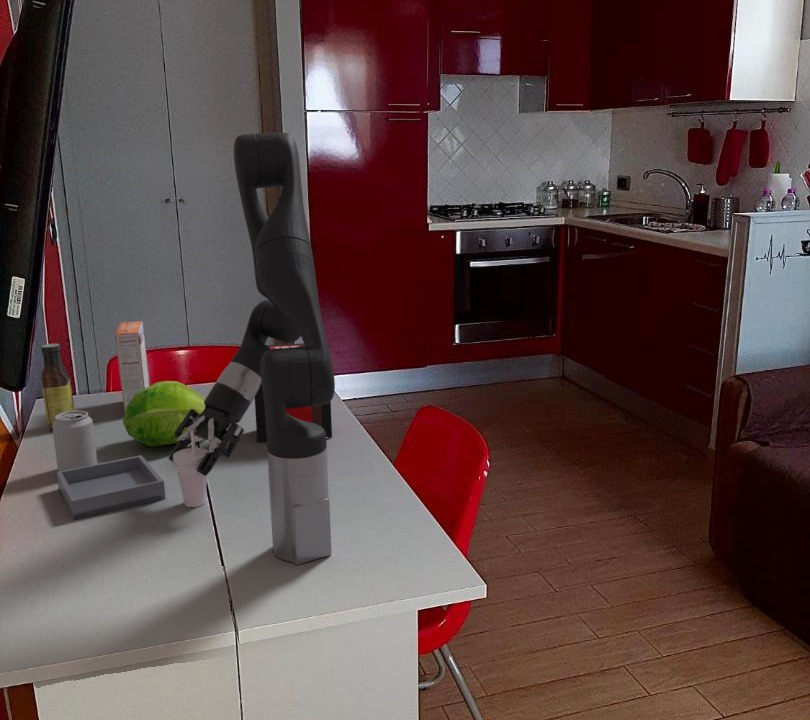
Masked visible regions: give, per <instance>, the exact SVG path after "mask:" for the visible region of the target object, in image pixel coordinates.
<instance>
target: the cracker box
mask: <svg viewBox="0 0 810 720" xmlns="http://www.w3.org/2000/svg"><path fill="white" fill-rule="evenodd" d="M114 337H115V344H116V353H117V354H116V355H117V361H118V368H119V369H118V370H119V378H120V387H121V395H122V397H121V398H122V403H123V410H124V411H123V412H124V413H123V414H125V411H126V407H127V405H128V404H129V402H130V401H131V400H132V398H133V397H134V396H135V394H136V393H137V392H139V391H141V390H143V389H145V388H147V387H149V386H151V385H150V378H149V369H148V368H149V367H148V358H147V350H146V340H145V331H144V322H143V321H140V320H139V321H126V322H125V321H123V322H121V323H119V325H118V327H117V329H116V333H115V334H114Z"/></svg>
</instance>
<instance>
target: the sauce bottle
mask: <svg viewBox="0 0 810 720" xmlns="http://www.w3.org/2000/svg"><path fill="white" fill-rule="evenodd" d="M40 351H41V353H42V357H43V369H42V371H41V374H40V380H41V388H42V390H41V391H42V396H43V402H44V406H45V407H44V408H45V414H46V415H45V417H46V421H47V424H48V425H47V426H48V428H49V429H50V430H52V429H53V428H52V424H53V423H54V421H55V420H56V419H55V416H56V415H58V414H60V413H63V412H68V411H76V409H75V404H74V403H75V402H74V397H73V389H72V383H71V378H70V377H71V376H70V375H69V372H68V371H67V369H66V367H65V366H64V363H63V360H62V356H61V345H60V343H48V344H47V343H46V344H44V345H40Z"/></svg>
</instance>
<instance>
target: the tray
mask: <svg viewBox="0 0 810 720" xmlns="http://www.w3.org/2000/svg"><path fill="white" fill-rule="evenodd" d="M56 479H57V487H58V490H59V493H60V494H61V497H62V498H63V500H64V502H65V505H66V506H67V509H68V510H69V512H70V514H71V516H72V518H73V519H74V520H79V519H83V518H87V517H92V516H96V515H100V514H105V513H108V512H115V511H118V509H119V510H122V508H123V509H127V508H131V506H132V507H135V505H136V506H140V504H141V505H144V504H149V503H153V501H154V502H157V500H158V501H162V500H166V491H165V490H166V489H165V488H166V487H165V481H164V480H163V478H162V477H161V476H160V475H159V474H158V472H157V471H156V470H155V469H154V468H153V467H152V465H151V464H150V463H149V462H148V461H147V460H146V458H145V457H144V456H143V455H142V454H141V455H135V456H130V457H126V458H121V459H116V460H111V461H106V462H100V463H97V464H94V465H89V466H84V467H79V468H74V469H69V470H64V471H56ZM126 507H127V508H126Z"/></svg>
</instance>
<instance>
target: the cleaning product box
mask: <svg viewBox="0 0 810 720" xmlns="http://www.w3.org/2000/svg"><path fill="white" fill-rule="evenodd" d="M265 345H266V344H265ZM266 346H267V347H269V348H270V349H277V348H290V347H305V344H304V342H303V343H286V344H285V343H284V344H282V343H281V344H267V345H266ZM331 402H332V400H331V401H330V402H329V403H327V404H324V405H318V406H308V407H297V408H287V409H286V413H287V414H289V415H291V416H292V417H294V418H297V419H300V420H303V421H307V422H311V423H314V424H317V425H319V426H321V427H322V428H323V429H324V430H325V433H326V437H332V438H333V430H332V429H333V428H332V425H333V424H332V423H333V422H332V403H331ZM254 410H255V413H254V414H255V424H256V425H255V427H256V440H257V441H256V443H257V444H259V443H267V433H266V417H265V406H264V398H263V390H262V383H261V386H260V388H259V390H258V392H257V394H256V396H255V397H254Z"/></svg>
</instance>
